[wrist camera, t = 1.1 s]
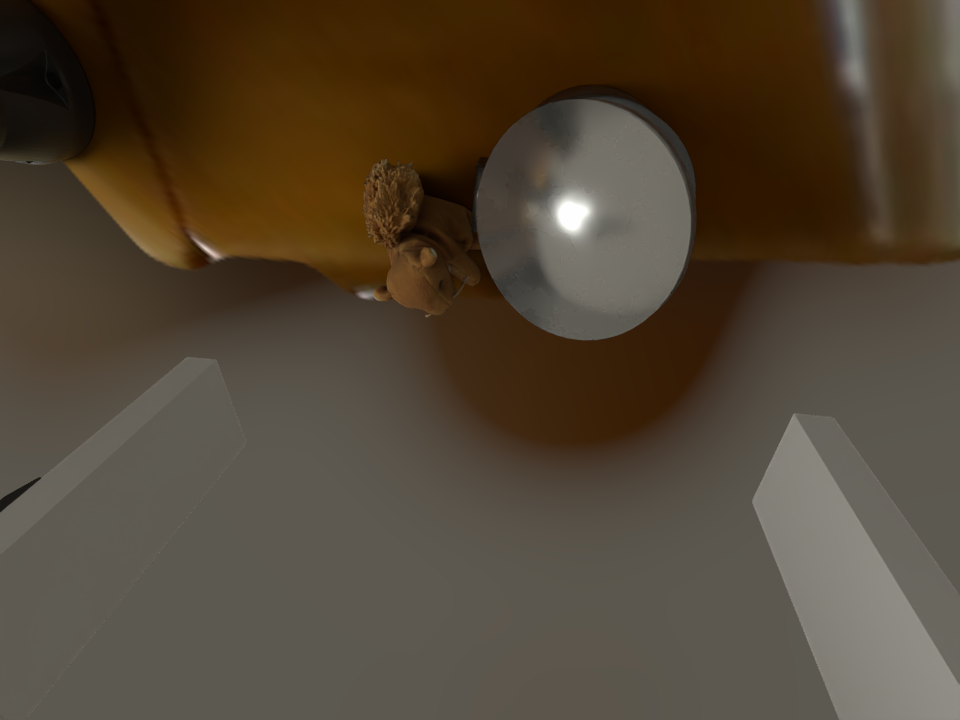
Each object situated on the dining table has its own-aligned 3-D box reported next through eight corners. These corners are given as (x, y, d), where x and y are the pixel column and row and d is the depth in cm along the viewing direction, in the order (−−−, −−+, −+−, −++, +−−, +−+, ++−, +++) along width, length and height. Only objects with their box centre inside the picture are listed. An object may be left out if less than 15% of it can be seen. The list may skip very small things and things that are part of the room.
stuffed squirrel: (431, 298, 53) (399, 365, 42) (344, 190, 48) (282, 234, 37) (505, 253, 49) (491, 314, 38) (420, 128, 44) (375, 158, 33)
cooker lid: (472, 286, 39) (461, 291, 38) (493, 79, 30) (479, 79, 29) (650, 366, 32) (641, 375, 31) (740, 125, 23) (733, 127, 22)
